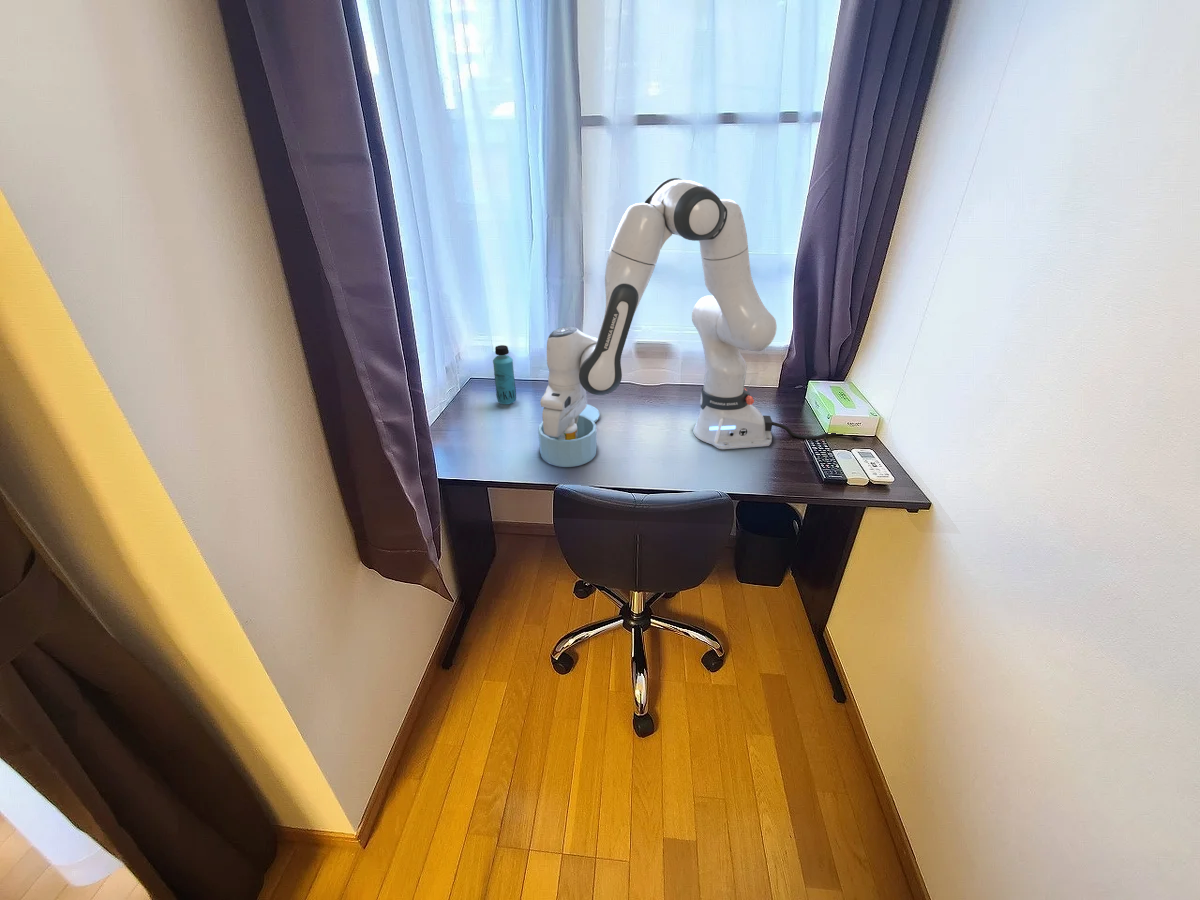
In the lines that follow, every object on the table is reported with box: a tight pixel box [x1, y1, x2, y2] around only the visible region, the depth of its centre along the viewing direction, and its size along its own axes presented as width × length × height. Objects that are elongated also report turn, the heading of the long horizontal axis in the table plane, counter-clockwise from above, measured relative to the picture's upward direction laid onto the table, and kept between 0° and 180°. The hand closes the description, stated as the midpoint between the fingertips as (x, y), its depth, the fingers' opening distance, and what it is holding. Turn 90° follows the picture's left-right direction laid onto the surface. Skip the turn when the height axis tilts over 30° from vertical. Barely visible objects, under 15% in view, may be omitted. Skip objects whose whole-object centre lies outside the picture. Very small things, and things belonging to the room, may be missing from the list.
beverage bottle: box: [492, 344, 517, 405], centre depth 162 cm, size 6×7×20 cm
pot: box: [537, 415, 598, 468], centre depth 139 cm, size 16×16×8 cm
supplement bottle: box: [564, 419, 578, 440], centre depth 138 cm, size 5×5×10 cm
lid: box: [579, 403, 600, 423], centre depth 158 cm, size 17×17×6 cm
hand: (567, 435), depth 139 cm, fingers closed on supplement bottle, 5 cm apart
